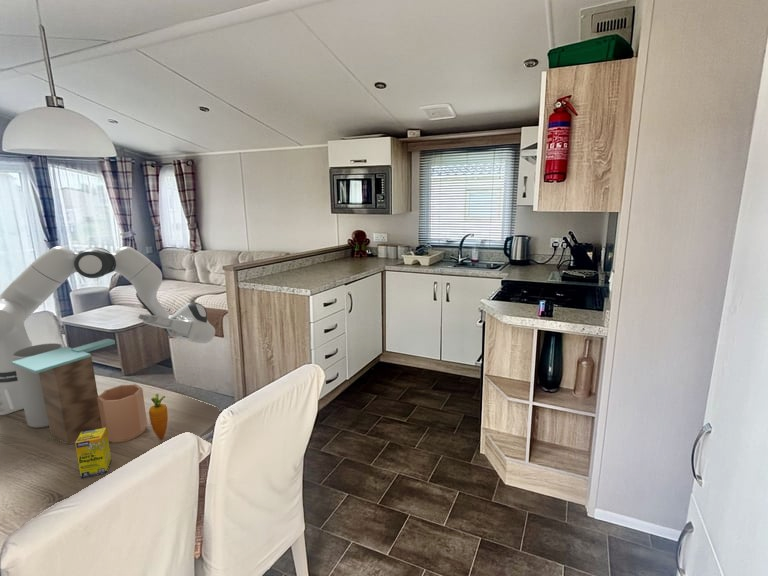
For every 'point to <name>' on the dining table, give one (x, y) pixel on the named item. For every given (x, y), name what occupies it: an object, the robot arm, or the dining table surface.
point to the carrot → (158, 417)
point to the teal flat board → (59, 356)
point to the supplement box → (93, 452)
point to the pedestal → (71, 399)
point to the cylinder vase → (33, 386)
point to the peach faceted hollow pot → (122, 412)
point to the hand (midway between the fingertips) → (148, 318)
